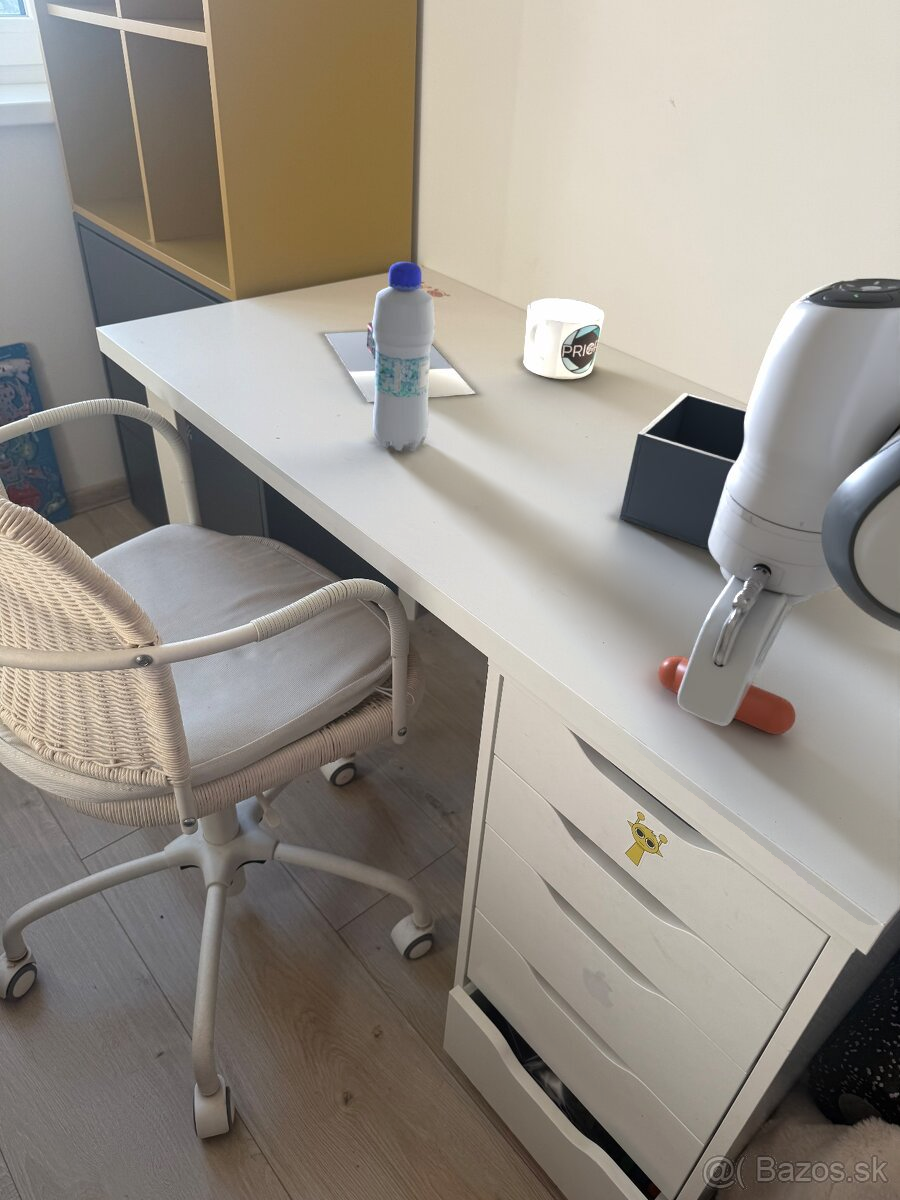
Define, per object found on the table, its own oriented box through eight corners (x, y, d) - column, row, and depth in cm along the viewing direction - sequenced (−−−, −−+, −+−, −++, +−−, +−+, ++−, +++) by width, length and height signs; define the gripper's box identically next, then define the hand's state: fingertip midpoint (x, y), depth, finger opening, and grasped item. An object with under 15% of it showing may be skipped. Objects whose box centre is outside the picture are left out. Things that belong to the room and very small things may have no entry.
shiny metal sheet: (368, 402, 104) (368, 369, 102) (324, 334, 123) (324, 305, 120) (475, 393, 109) (478, 362, 106) (417, 329, 127) (419, 301, 125)
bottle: (427, 457, 93) (437, 274, 81) (368, 453, 93) (369, 269, 81) (430, 431, 99) (439, 256, 87) (373, 427, 99) (375, 251, 87)
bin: (780, 508, 89) (809, 427, 84) (744, 562, 80) (774, 475, 74) (664, 471, 94) (684, 392, 89) (619, 518, 85) (637, 433, 80)
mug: (548, 347, 125) (556, 292, 120) (608, 368, 119) (618, 311, 115) (493, 369, 116) (499, 311, 111) (555, 392, 111) (564, 332, 106)
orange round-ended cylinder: (792, 725, 62) (804, 698, 61) (783, 747, 60) (795, 720, 59) (662, 670, 66) (670, 643, 65) (649, 689, 64) (657, 662, 63)
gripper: (790, 634, 46) (724, 798, 54) (861, 491, 60) (801, 639, 68) (681, 592, 48) (634, 755, 56) (774, 465, 62) (726, 610, 71)
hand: (726, 690), depth 62 cm, fingers closed on orange round-ended cylinder, 3 cm apart
